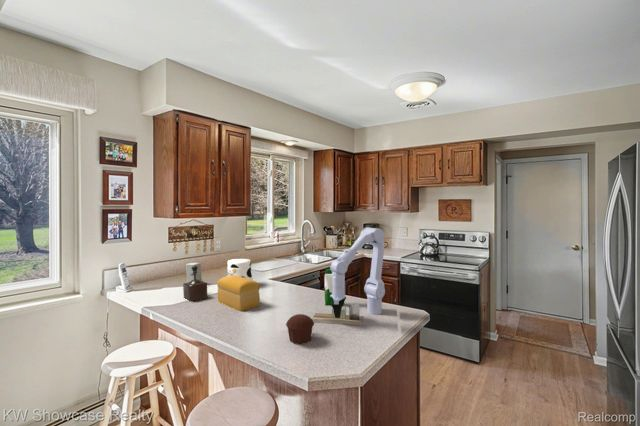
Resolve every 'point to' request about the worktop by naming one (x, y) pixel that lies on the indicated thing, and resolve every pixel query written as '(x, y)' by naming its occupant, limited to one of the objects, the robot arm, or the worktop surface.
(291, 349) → the worktop surface
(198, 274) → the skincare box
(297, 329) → the muffin
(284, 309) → the worktop surface
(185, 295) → the pepper mill
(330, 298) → the milk carton
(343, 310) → the tea box
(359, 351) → the worktop surface
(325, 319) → the shelf board
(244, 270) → the milk container
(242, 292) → the bread
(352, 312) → the metal can
